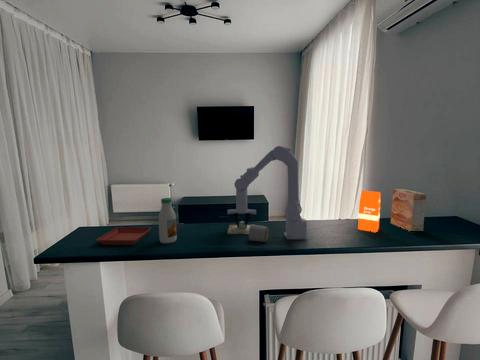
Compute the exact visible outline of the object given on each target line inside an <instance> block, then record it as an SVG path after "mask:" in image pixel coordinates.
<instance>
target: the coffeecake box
mask: <svg viewBox="0 0 480 360" xmlns="http://www.w3.org/2000/svg"><path fill="white" fill-rule="evenodd" d="M391 199H392V201H391V212H390V224H392V225H394V226H396V227H398V228H400V227H401V229H403V230H405V229H406V230H405V231H407V230H408V232H410V231H423V232H424V225H425V224H424V222H425V214H426V213H425V212H426V201H427V193H423V192H419V191H414V190H411V189H406V188H392V198H391Z"/></svg>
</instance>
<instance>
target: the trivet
mask: <svg viewBox="0 0 480 360" xmlns="http://www.w3.org/2000/svg"><path fill="white" fill-rule="evenodd" d="M235 225H236V224H229V226H228V229H227V234H228V235H232V234H233V235H235V234H236V235H249V232H247V233H237V232H233V231H231V227H232V226H235ZM249 225H250V226H251V224H249Z"/></svg>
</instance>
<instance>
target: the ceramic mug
mask: <svg viewBox="0 0 480 360" xmlns="http://www.w3.org/2000/svg"><path fill="white" fill-rule="evenodd" d="M250 225H251V226H250V229H249V234H248V241H250V242H261V243H262V242H263V243H264V242H267V241H268V238H269V233H270V231H269V227H268V226H265V225H258V224H253V223H251V224H250Z"/></svg>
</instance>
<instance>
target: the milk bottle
mask: <svg viewBox="0 0 480 360" xmlns="http://www.w3.org/2000/svg"><path fill="white" fill-rule="evenodd" d="M172 201H173V199H172V198H171V197H164V198H161V200H160V202H161V203H160V204H161V208H160V211H159V214H158V237H159V242H160V243H161V244H172V243H174V242H176V241H177V237H178V235H177V218H176V213H175V211H174V210H175V209H174V208H173V206H172V203H173V202H172Z"/></svg>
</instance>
